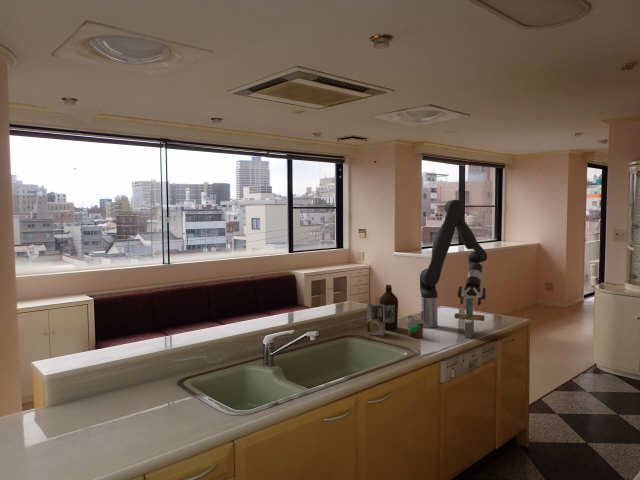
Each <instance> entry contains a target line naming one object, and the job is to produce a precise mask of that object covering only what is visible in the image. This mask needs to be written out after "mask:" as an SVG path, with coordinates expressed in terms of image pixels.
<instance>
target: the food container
mask: <svg viewBox="0 0 640 480" xmlns="http://www.w3.org/2000/svg"><path fill="white" fill-rule="evenodd" d="M405 322H406V323H407V331H408V332H407V334H408V335H407V336H408V337H409V338H412V339H423V336H424V335H423V334H424V327H423V324H424V321H423V320H421V319H420V318H417V317H413V315H408V316H406V320H405Z"/></svg>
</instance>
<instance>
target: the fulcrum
mask: <svg viewBox="0 0 640 480" xmlns="http://www.w3.org/2000/svg"><path fill="white" fill-rule="evenodd" d="M474 334H475V320H468V319H464V338H465V339H472V338H473V336H474Z"/></svg>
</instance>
